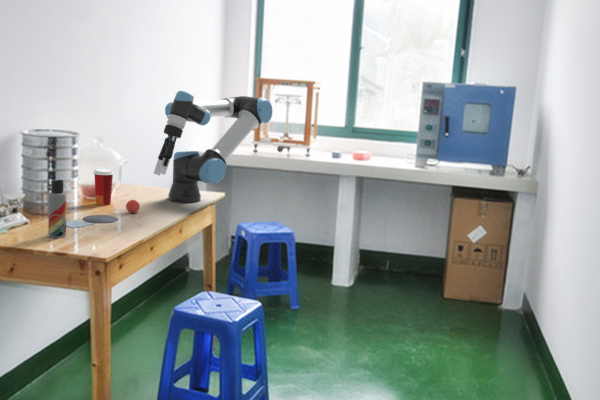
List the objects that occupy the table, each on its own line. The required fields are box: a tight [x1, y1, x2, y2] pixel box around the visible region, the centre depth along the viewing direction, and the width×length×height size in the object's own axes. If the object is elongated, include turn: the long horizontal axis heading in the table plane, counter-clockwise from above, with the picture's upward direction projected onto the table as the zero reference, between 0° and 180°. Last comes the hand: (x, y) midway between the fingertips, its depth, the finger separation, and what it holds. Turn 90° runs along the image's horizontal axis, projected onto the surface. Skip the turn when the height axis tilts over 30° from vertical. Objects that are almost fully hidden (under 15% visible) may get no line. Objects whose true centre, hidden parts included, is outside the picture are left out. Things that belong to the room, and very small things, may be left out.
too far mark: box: [66, 219, 94, 229], centre depth 226 cm, size 9×9×1 cm
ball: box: [125, 199, 141, 214], centre depth 250 cm, size 6×6×6 cm
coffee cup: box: [93, 168, 114, 207], centre depth 261 cm, size 8×8×15 cm
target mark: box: [82, 214, 119, 224], centre depth 236 cm, size 13×13×1 cm
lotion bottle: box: [47, 179, 67, 239], centre depth 207 cm, size 6×6×20 cm
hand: (159, 174), depth 253 cm, fingers open, 13 cm apart
